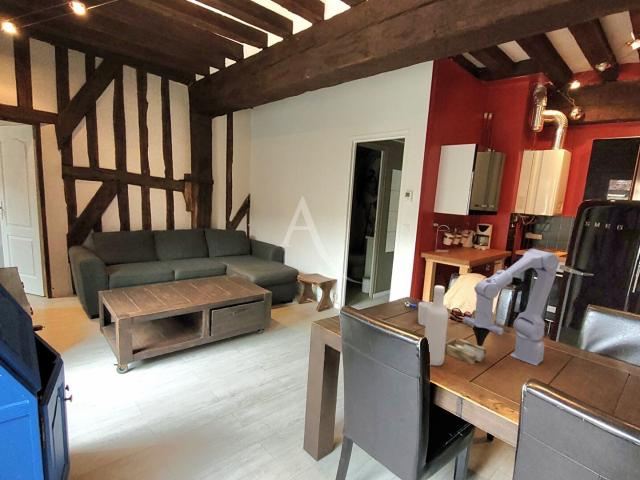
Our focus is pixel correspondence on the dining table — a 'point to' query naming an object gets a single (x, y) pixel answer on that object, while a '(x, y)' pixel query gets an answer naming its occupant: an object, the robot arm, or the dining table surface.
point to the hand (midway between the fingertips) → (480, 345)
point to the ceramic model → (493, 319)
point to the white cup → (422, 312)
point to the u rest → (461, 353)
